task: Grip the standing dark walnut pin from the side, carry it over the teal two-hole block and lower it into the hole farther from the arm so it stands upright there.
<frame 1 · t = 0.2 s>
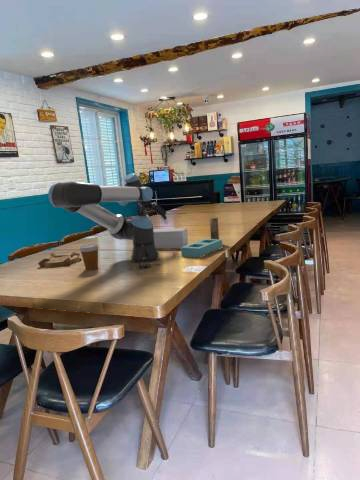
hand: (158, 223, 219), 15 cm above the table, tool tilted 35°, fingers open, 13 cm apart
walnut pin: (215, 243, 217), on the table
disposable coffee cup: (91, 268, 181), on the table
stack of papers: (162, 247, 223), on the table
bore block: (202, 252, 197), on the table
brown flat irregular piece: (60, 263, 202), on the table
eiffel tower figurine: (145, 268, 174), on the table
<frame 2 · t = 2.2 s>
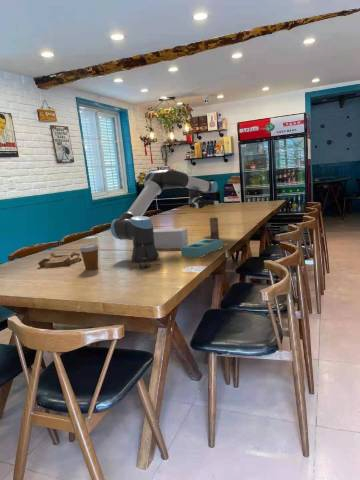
hand: (207, 204, 222), 24 cm above the table, tool horizontal, fingers open, 13 cm apart
nothing on the table moved.
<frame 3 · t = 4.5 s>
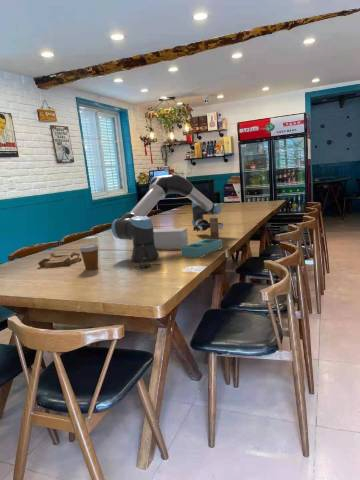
hand: (212, 228, 221), 9 cm above the table, tool horizontal, fingers open, 13 cm apart
nothing on the table moved.
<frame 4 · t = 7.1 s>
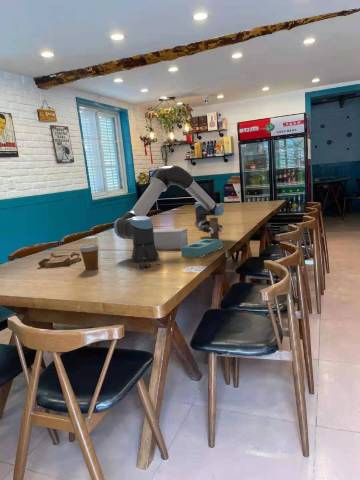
hand: (217, 230, 210), 9 cm above the table, tool horizontal, fingers closed on walnut pin, 5 cm apart
walnut pin: (215, 243, 217), on the table, touching gripper
everything else where it was.
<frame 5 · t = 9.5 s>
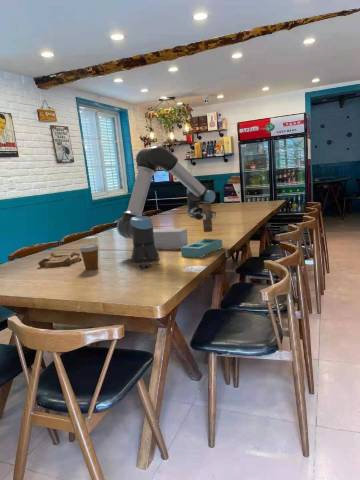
hand: (209, 216, 194), 20 cm above the table, tool horizontal, fingers closed on walnut pin, 5 cm apart
walnut pin: (208, 231, 201), point 11 cm above the table, touching gripper
everything else where it was.
when the fingers open (11 cm above the table, at t = 12.0 s): walnut pin stays where it is, resting on bore block.
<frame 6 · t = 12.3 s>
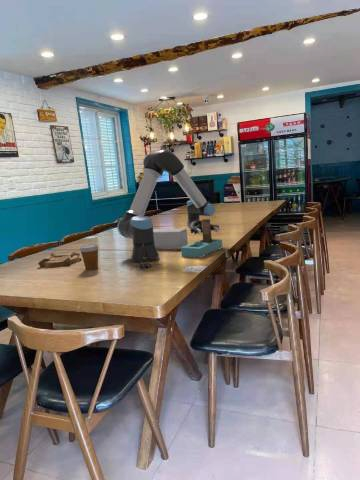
hand: (209, 231, 195), 11 cm above the table, tool horizontal, fingers open, 10 cm apart
walnut pin: (208, 247, 201), point 2 cm above the table, touching bore block
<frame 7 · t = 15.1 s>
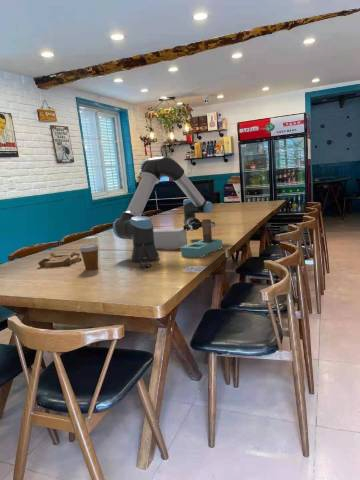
hand: (202, 227, 207), 12 cm above the table, tool horizontal, fingers open, 13 cm apart
stack of papers: (161, 246, 223), on the table, touching hand
everything else where it was.
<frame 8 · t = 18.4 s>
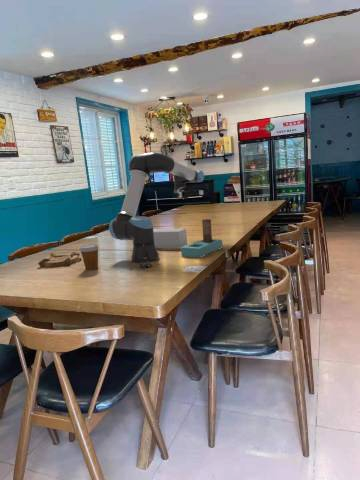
hand: (191, 193, 213), 32 cm above the table, tool horizontal, fingers open, 13 cm apart
stack of papers: (161, 247, 224), on the table
everything else where it was.
at the end: walnut pin 0.0 cm from the target spot on the bore block, point 1.5 cm above the bore block's base; walnut pin tilted 1°; the gripper is holding nothing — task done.
